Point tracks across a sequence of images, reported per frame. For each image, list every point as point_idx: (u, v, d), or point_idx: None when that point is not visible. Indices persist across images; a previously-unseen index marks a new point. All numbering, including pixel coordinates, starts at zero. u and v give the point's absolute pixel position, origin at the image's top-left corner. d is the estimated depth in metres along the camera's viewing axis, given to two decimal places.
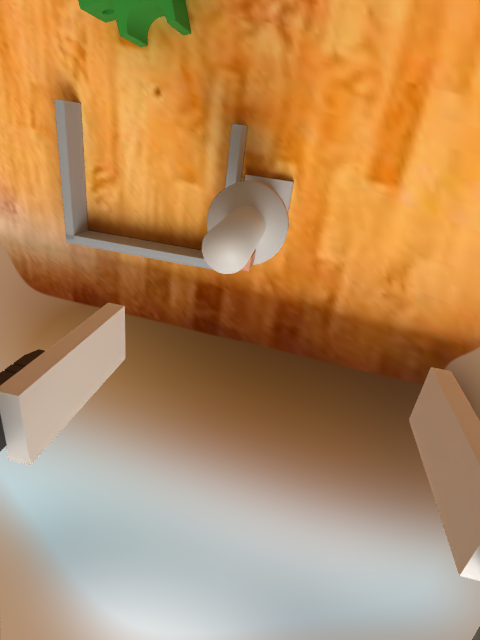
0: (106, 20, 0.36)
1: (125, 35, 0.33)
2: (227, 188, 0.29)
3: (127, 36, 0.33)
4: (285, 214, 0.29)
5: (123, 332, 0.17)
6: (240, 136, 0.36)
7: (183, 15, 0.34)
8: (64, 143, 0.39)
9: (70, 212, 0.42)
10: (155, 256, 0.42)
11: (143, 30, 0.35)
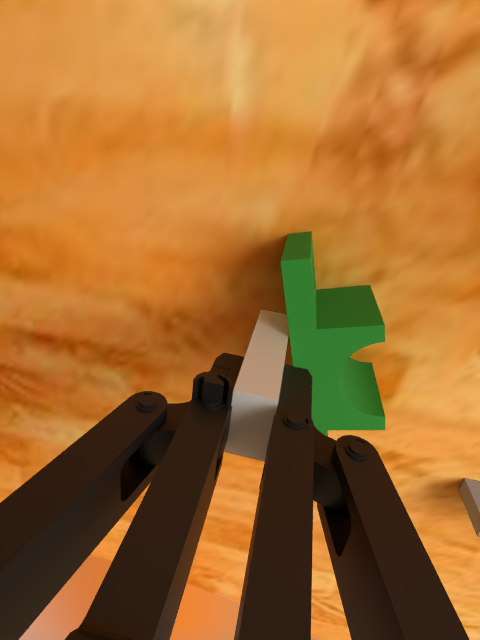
0: None
1: (384, 420, 0.17)
2: None
3: None
4: None
5: None
6: None
7: (351, 299, 0.17)
8: None
9: None
10: None
11: (355, 370, 0.19)
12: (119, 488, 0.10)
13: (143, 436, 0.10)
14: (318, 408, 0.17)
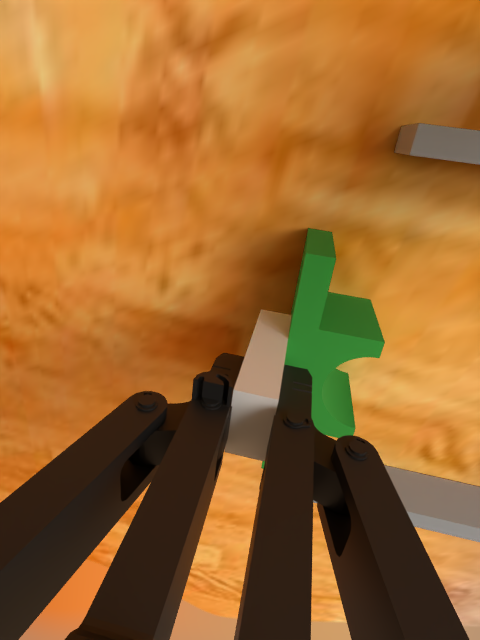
0: None
1: (353, 431, 0.17)
2: None
3: None
4: None
5: None
6: (448, 129, 0.13)
7: (352, 309, 0.17)
8: None
9: None
10: None
11: (333, 377, 0.20)
12: (119, 488, 0.10)
13: (143, 436, 0.10)
14: None
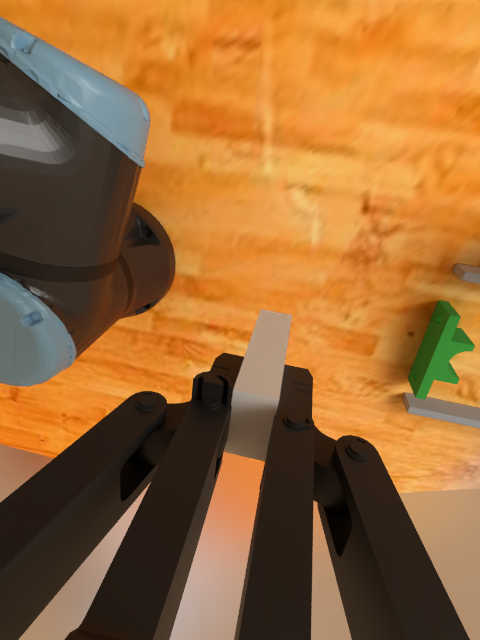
0: None
1: (457, 380, 0.44)
2: None
3: None
4: None
5: None
6: (474, 273, 0.40)
7: (457, 332, 0.44)
8: (441, 415, 0.47)
9: None
10: None
11: None
12: (119, 488, 0.10)
13: (143, 436, 0.10)
14: (435, 370, 0.43)
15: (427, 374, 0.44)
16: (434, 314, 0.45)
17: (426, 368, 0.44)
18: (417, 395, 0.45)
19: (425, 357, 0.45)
